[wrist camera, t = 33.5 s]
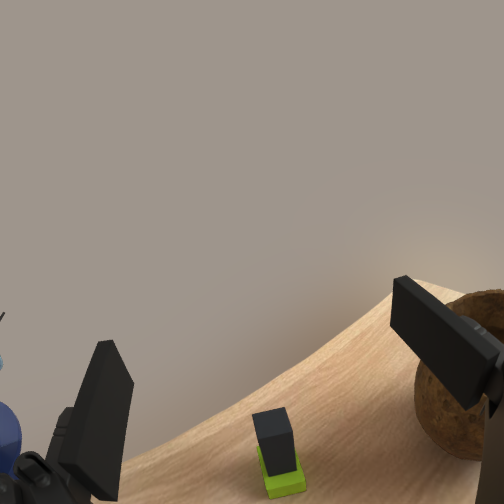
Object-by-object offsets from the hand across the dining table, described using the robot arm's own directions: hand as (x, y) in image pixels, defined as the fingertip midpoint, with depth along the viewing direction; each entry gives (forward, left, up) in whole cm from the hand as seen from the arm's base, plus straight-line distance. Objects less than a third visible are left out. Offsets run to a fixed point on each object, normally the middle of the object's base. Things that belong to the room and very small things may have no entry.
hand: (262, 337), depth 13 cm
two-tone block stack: (-5, +3, -25) cm, 26 cm away
